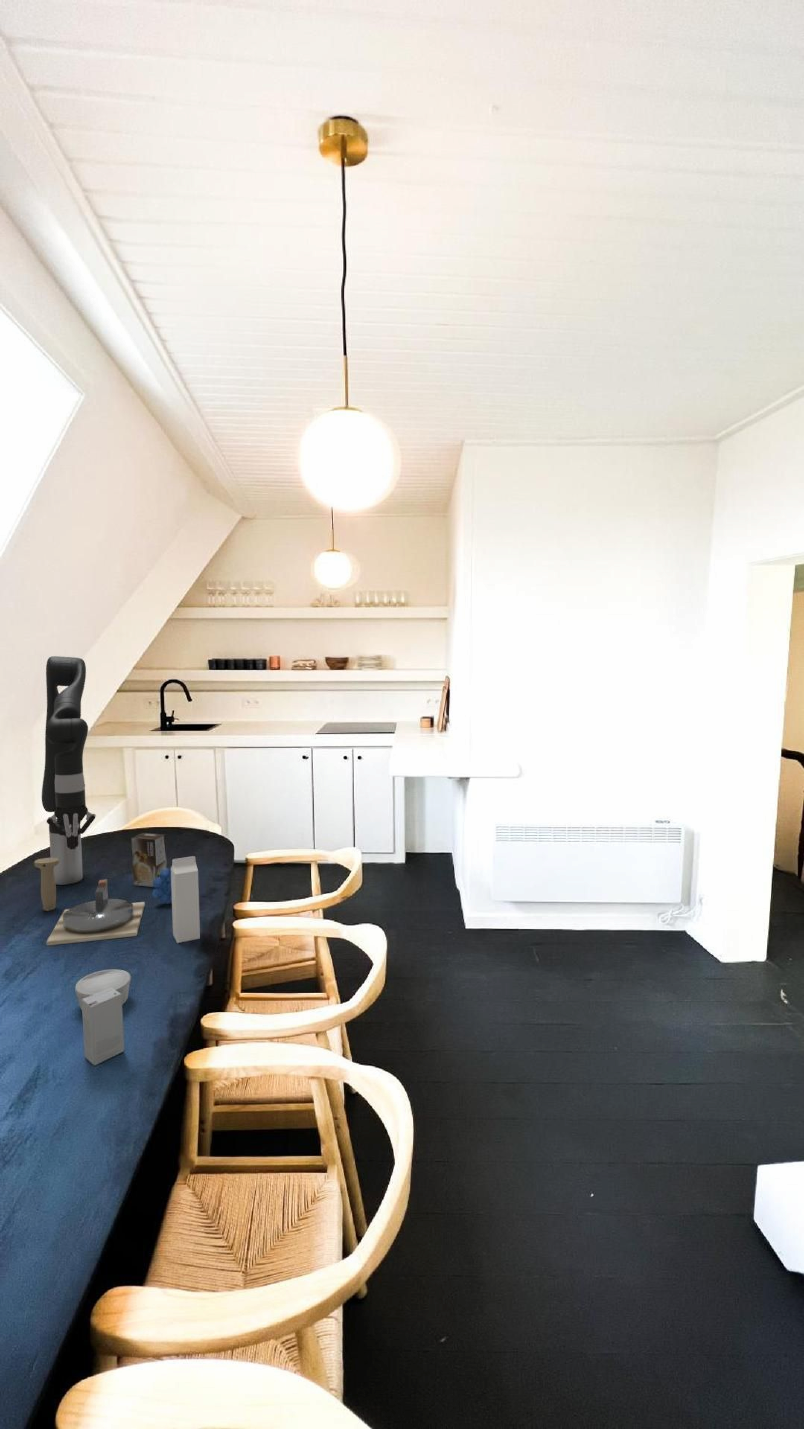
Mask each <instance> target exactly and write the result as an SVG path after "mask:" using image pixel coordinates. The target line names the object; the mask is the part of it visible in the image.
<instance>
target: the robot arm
mask: <svg viewBox="0 0 804 1429" xmlns="http://www.w3.org/2000/svg"><path fill="white" fill-rule="evenodd" d="M45 666H46V667H45V678H46V680H45V682H46V715H45V716H46V720H45V729H44V730H45V734H44V740H45V741H44V742H45V743H44V746H45V747H44V750H45V752H44V753H45V754H44V770H43V777H42V778H43V779H42V787H41V804H42V807H43V809H44V811H46V812H47V813H53V815H52V816H49V817H48V818H47V819H46V824H48V834H49V836H48V837H49V851H50V852H49V853H50V854H49V855H50V858H59V864H58V865H56V866H55V867H54V878H55V885H59V886H62V885H63V886H65V885H71V884H75V883H79V882H80V881H82V879H83V878H84V877H83V875H84V874H83V855H82V853H83V852H82V836H81V835H83V834H84V833H85V832H86V831H87V829H88V828H89V827H90V826H91V825H92V823H93V822H94V820H95V819H96V817H97V815H96V814H95V813H91V812H90V811H89V809H88V807H87V804H86V803H87V802H86V784H85V777H84V775H85V774H84V768H83V767H84V765H83V762H84V760H83V754H84V749H85V744H86V740H87V738H88V734H89V725H88V723H87V721H86V720H85V719H83V718H81V716H82V698H83V694H84V689H85V684H86V678H87V677H86V676H87V667H86V666H87V665H86V662H85V660H84V659H83V658H80V657H73V656H61V655H59V656H57V655H55V656H54V655H53V656H49V657H48V659H47V661H46V665H45ZM58 687H66V688H64V689H63V690H62V691H60V692H59V689H58ZM85 816H86V818H85ZM84 818H85V820H86V821H85V822H84V824H83V825H82V826H81V822H82V821H83V819H84Z"/></svg>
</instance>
